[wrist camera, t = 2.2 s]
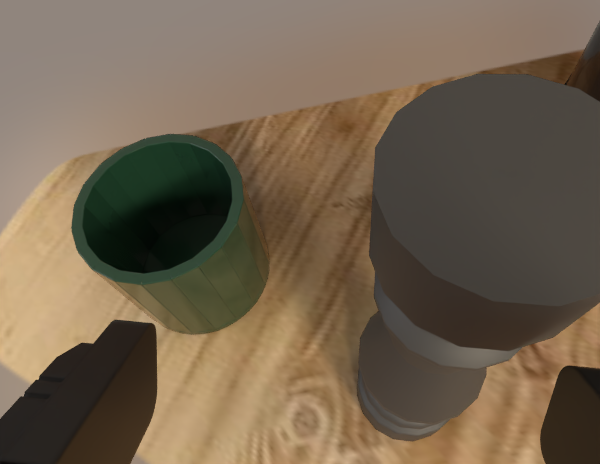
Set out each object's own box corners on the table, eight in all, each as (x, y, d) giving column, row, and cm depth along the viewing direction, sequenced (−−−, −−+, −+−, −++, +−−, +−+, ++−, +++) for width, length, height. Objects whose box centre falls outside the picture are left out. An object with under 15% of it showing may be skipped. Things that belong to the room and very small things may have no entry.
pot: (239, 192, 41) (207, 111, 32) (292, 294, 36) (271, 232, 27) (123, 245, 39) (56, 176, 30) (161, 359, 34) (94, 316, 25)
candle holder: (363, 445, 30) (384, 338, 8) (351, 349, 33) (342, 83, 11) (461, 436, 30) (753, 301, 8) (440, 340, 33) (610, 48, 11)
